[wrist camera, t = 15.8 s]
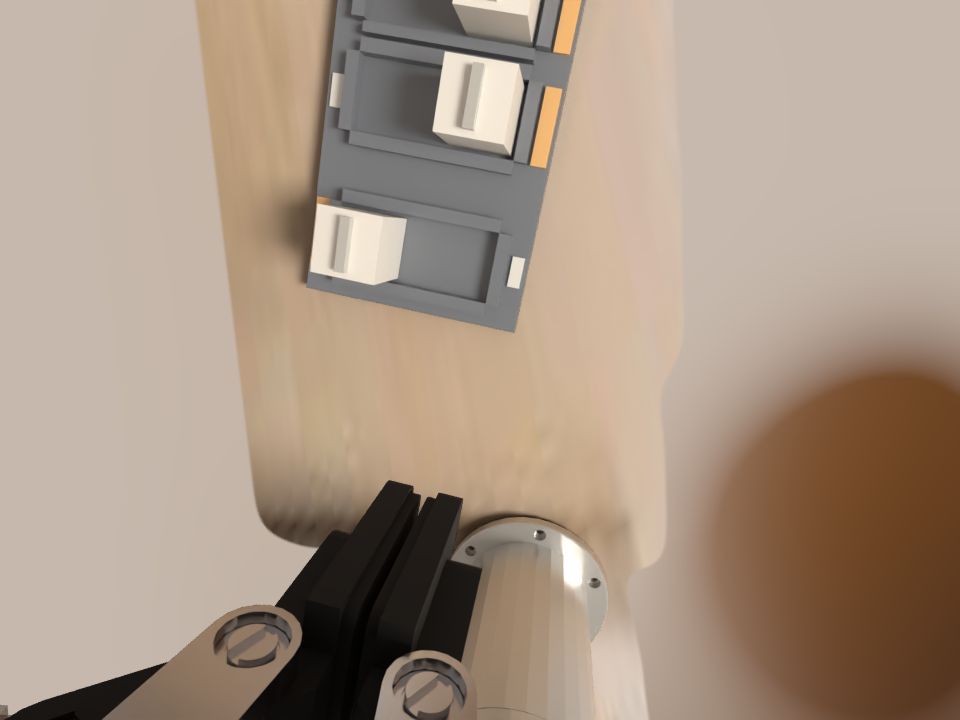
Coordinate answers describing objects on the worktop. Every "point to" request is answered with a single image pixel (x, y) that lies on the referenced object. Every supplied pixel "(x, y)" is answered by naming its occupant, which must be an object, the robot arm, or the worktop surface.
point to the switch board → (443, 148)
